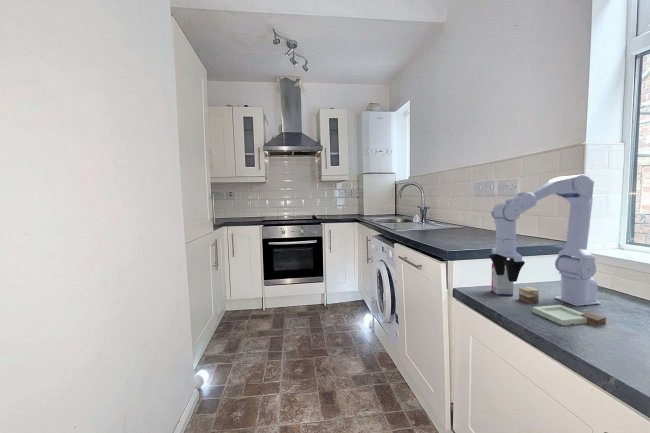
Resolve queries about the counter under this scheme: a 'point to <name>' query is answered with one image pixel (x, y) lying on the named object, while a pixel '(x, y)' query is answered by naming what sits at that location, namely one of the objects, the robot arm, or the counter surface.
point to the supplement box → (501, 283)
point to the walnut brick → (594, 319)
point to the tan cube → (529, 294)
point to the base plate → (560, 314)
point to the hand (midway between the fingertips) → (506, 278)
